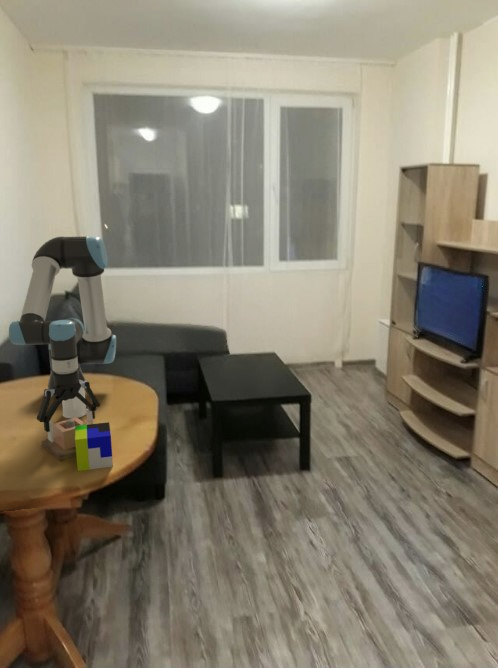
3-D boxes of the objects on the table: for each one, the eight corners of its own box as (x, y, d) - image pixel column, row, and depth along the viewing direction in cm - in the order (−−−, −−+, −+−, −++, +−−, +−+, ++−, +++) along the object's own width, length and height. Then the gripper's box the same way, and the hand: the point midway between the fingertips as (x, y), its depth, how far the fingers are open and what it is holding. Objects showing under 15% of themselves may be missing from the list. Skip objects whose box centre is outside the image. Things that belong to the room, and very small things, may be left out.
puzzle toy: (112, 466, 163) (110, 435, 160) (77, 471, 160) (75, 439, 158) (111, 451, 172) (109, 422, 170) (77, 455, 169) (75, 425, 167)
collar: (77, 434, 181) (76, 417, 179) (88, 442, 175) (87, 424, 173) (54, 441, 175) (52, 423, 174) (64, 449, 170) (62, 432, 168)
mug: (84, 421, 194) (82, 389, 191) (59, 423, 193) (56, 391, 190) (88, 408, 206) (85, 378, 203) (64, 410, 204) (61, 379, 201)
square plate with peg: (83, 432, 185) (81, 409, 183) (102, 446, 175) (100, 422, 173) (42, 445, 176) (39, 420, 174) (60, 460, 166) (57, 434, 164)
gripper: (30, 382, 159) (37, 450, 164) (107, 365, 174) (112, 427, 180) (20, 376, 164) (28, 441, 169) (97, 360, 180) (101, 420, 185)
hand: (71, 434), depth 175 cm, fingers open, 12 cm apart
